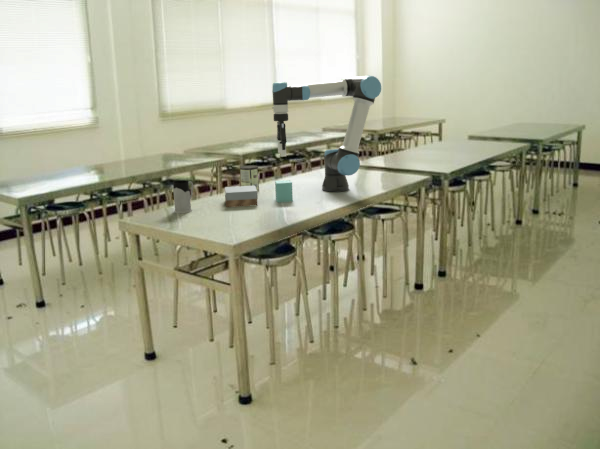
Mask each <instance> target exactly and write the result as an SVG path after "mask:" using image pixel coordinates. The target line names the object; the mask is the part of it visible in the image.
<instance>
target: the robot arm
mask: <svg viewBox="0 0 600 449" xmlns="http://www.w3.org/2000/svg"><path fill="white" fill-rule="evenodd" d="M271 88H272V102H273V104H272V105H273V106H272V107H271V109H273V110H272V111H273V122H276V129H277V130H276V132H277V134H276V139H277V153H278V154H280V157H287V132H286V123H285V122H287V121H289V102H292V101H293V102H296V101H308V100H309V99H312V98H323V97H324V98H325V97H334V96H341V97H352V99H353V101H354V102H353V107H352V109H351V114H350V117H349V121H348V124H347V127H346V132H345V136H344V139H343V142H342V145H340V146H339V147H338V148H336V149H326V150H325V151H324V156H323V157H324V179H323V182H322V186H321V189H322V191H324V192H329V193H330V192H331V193H333V192H337V193H338V192H346V191H348V190H350V187H349V186H350V185H349V182H348V179H347V176H353V175H354V174H356V173H357V172H358V170H359V168H360V165H361V162H360V160H359V158H360V152H359V146H360V143H361V139H362V136H363V133H364V128H365V124H366V122H367V118H368V114H369V110H370V108H371V106H372V105H374V104H375V101H376V98H377V97H378V96H379V95H381V93H382V83H381V82H380V80H379V78H377V76H374V75H369V74H367V75H356V76H351V77H347V78H341V79H340V80H338V81H337V80H336V81H325V82H313V83H312V82H311V83H304V84H303V83H302V84H288V83H287V82H286V81H279V82H278V81H275V82H273V83H272V87H271Z"/></svg>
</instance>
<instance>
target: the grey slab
mask: <svg viewBox="0 0 600 449" xmlns="http://www.w3.org/2000/svg"><path fill="white" fill-rule="evenodd" d="M224 190H225V195H226V201H227V200H244V199H257V200H258V191H257V189H256V187H255V185H254V186H224ZM225 195H224V196H225Z"/></svg>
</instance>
